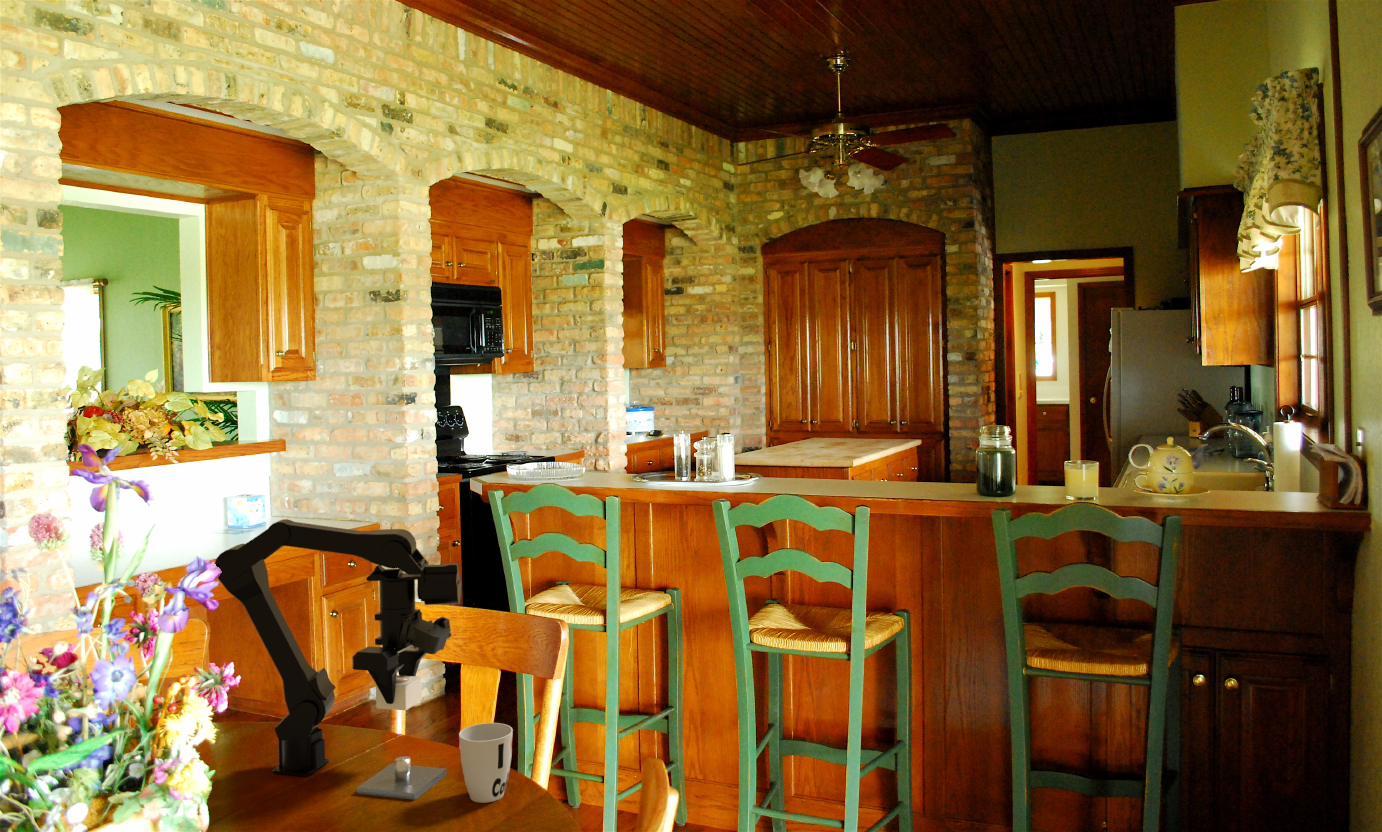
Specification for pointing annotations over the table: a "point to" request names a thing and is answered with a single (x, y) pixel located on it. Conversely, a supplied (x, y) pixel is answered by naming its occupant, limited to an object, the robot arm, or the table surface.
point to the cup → (486, 760)
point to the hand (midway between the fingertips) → (399, 698)
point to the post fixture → (402, 780)
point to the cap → (402, 693)
